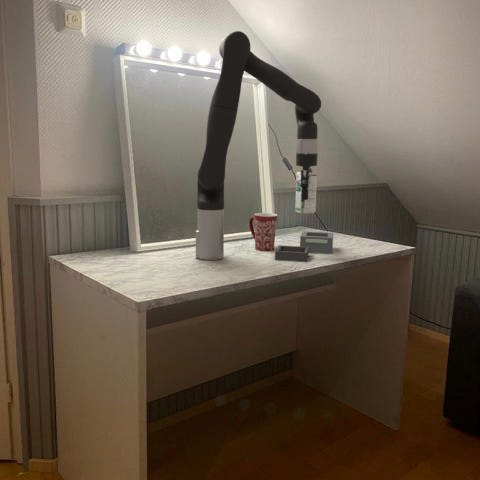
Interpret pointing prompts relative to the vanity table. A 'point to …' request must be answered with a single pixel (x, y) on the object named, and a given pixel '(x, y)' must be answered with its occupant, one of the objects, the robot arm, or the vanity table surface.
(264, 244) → the mug
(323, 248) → the port
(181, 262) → the vanity table surface
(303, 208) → the syrup box
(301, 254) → the dark grey tray
